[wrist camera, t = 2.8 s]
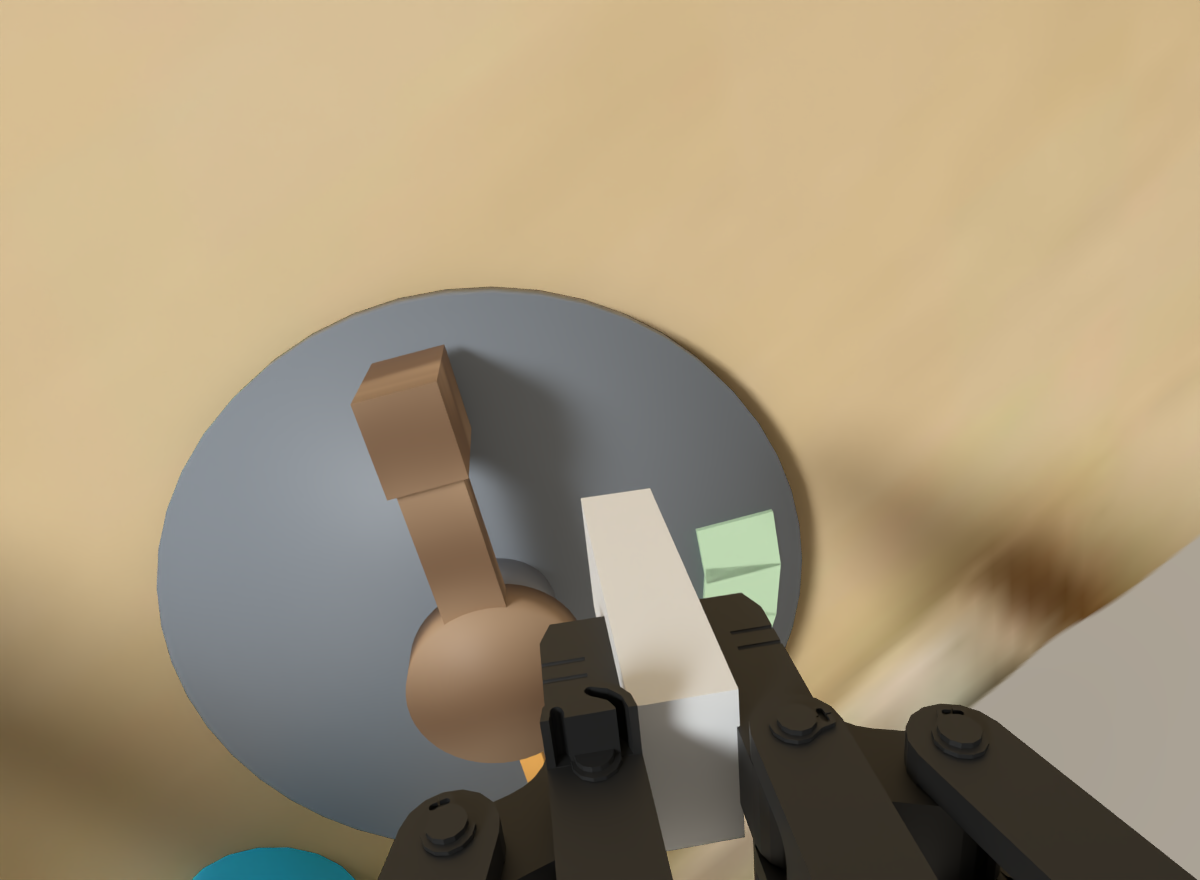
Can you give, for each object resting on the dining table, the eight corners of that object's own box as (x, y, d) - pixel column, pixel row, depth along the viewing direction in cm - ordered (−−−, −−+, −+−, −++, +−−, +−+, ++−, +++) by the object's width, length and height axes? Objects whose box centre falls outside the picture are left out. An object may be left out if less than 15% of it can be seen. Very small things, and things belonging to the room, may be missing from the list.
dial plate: (71, 711, 30) (12, 791, 26) (346, 143, 24) (321, 144, 20) (596, 884, 37) (608, 966, 33) (905, 478, 31) (961, 523, 27)
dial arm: (316, 378, 25) (285, 421, 21) (498, 330, 25) (500, 364, 21) (501, 846, 33) (504, 940, 29) (637, 806, 33) (658, 894, 29)
